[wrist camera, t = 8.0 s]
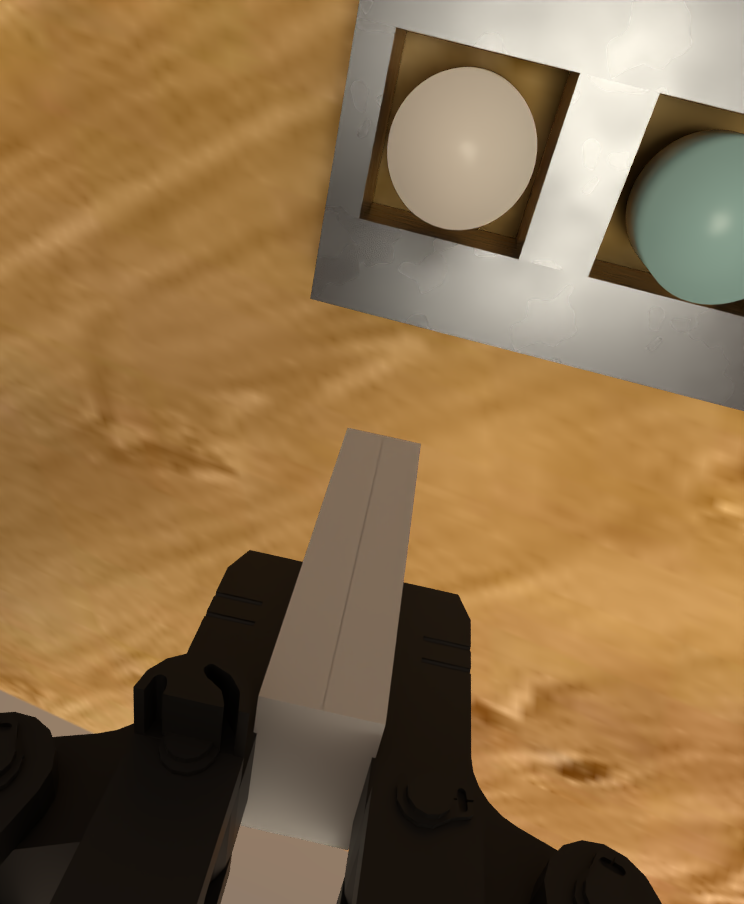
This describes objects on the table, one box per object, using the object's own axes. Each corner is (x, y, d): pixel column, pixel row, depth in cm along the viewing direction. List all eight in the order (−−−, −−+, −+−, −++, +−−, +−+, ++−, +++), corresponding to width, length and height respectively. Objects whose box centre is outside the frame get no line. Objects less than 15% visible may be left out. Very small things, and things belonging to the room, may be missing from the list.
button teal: (603, 258, 23) (617, 283, 20) (661, 113, 20) (685, 120, 18) (733, 291, 23) (764, 321, 20) (807, 149, 20) (852, 162, 18)
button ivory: (385, 194, 24) (373, 210, 22) (415, 51, 22) (406, 50, 19) (507, 226, 24) (509, 245, 22) (551, 85, 22) (559, 88, 19)
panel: (327, 275, 27) (310, 298, 24) (393, -99, 20) (379, -121, 18) (911, 426, 26) (956, 466, 24) (1164, 90, 20) (1263, 94, 17)
